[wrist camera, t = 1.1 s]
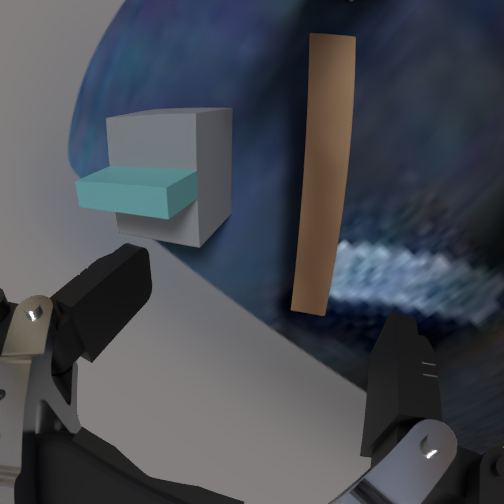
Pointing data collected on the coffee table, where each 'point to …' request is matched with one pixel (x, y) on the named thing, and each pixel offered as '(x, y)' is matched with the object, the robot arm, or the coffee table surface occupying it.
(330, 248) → the walnut beam
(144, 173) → the balance stand
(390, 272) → the coffee table surface
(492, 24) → the coffee table surface
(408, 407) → the robot arm
